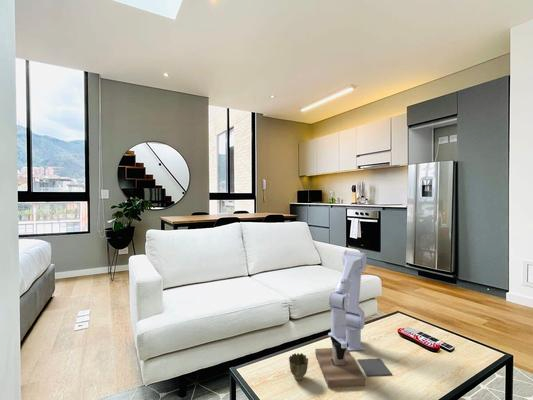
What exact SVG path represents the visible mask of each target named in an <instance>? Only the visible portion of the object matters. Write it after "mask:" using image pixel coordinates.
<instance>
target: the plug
mask: <svg viewBox="0 0 533 400" xmlns="http://www.w3.org/2000/svg"><path fill="white" fill-rule="evenodd" d="M331 348H332V363H333V365H334V366H345V354H344V357H343V359H341V360H338V358H337V354H336V348H335V345H334V344H331Z"/></svg>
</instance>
